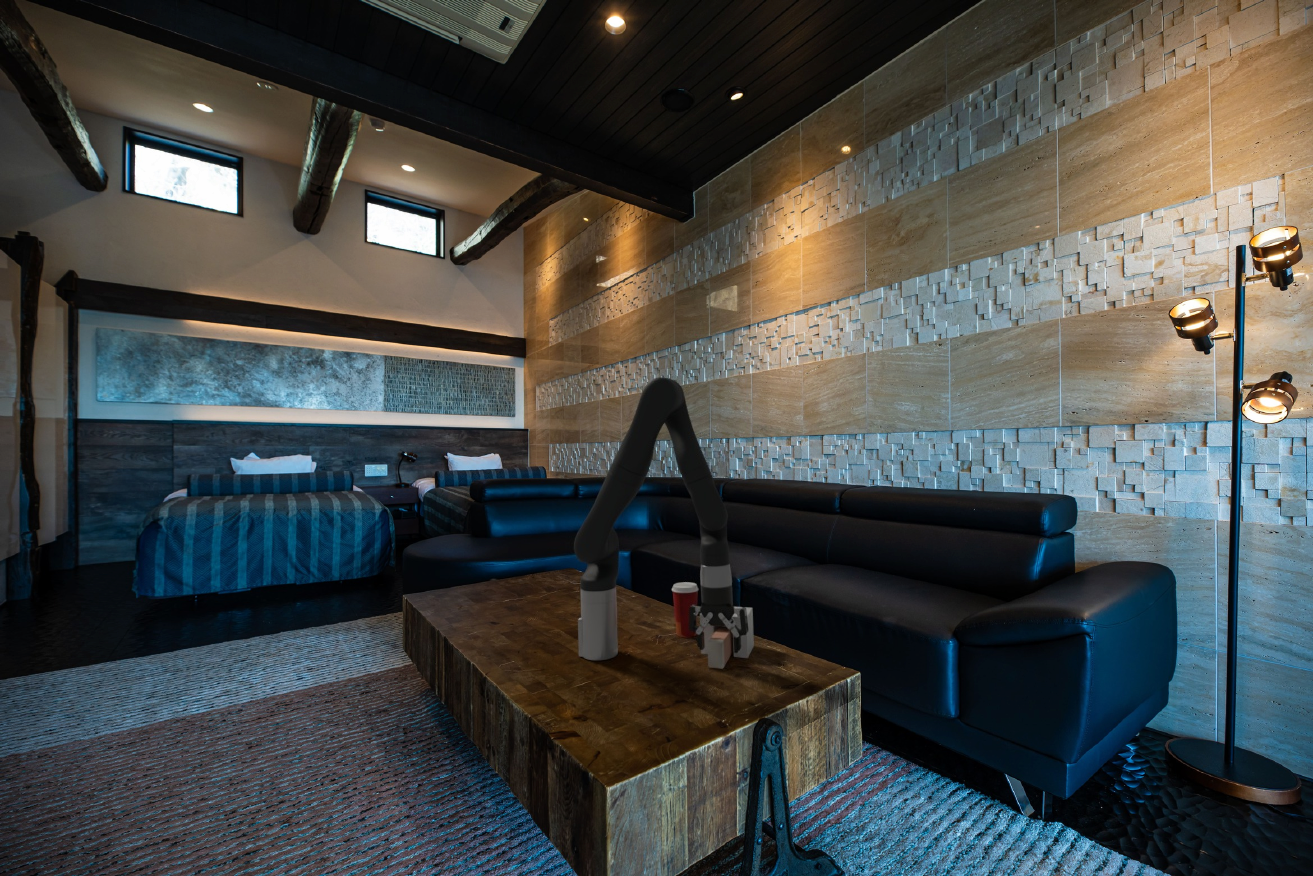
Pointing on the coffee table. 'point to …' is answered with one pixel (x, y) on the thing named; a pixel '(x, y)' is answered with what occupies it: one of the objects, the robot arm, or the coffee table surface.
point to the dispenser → (746, 640)
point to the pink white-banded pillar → (720, 647)
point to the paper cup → (684, 607)
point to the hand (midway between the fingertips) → (719, 650)
